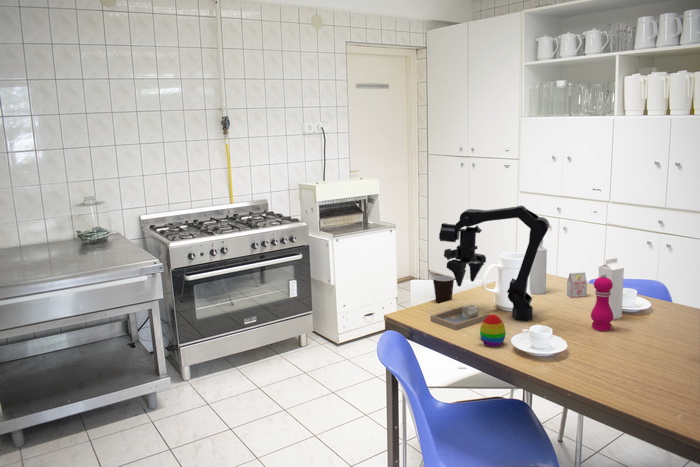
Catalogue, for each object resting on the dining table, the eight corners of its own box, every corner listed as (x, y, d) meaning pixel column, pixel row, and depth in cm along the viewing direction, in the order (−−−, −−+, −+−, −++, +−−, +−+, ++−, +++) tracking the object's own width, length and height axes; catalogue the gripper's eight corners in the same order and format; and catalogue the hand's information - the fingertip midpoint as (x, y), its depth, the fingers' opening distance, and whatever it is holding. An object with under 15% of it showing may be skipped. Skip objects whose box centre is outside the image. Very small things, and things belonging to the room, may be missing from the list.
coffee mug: (448, 305, 233) (447, 282, 231) (429, 302, 238) (429, 279, 237) (461, 298, 242) (460, 275, 240) (442, 295, 247) (442, 273, 246)
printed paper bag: (566, 295, 240) (567, 272, 238) (582, 294, 241) (582, 271, 239) (571, 298, 237) (571, 274, 235) (586, 296, 237) (587, 273, 236)
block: (478, 317, 213) (478, 306, 213) (470, 319, 211) (470, 309, 211) (470, 314, 217) (470, 304, 216) (462, 316, 214) (462, 306, 214)
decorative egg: (510, 342, 191) (510, 314, 190) (496, 350, 186) (496, 320, 184) (488, 337, 197) (488, 309, 195) (475, 344, 192) (475, 315, 190)
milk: (596, 316, 214) (598, 258, 210) (608, 313, 216) (610, 256, 212) (610, 320, 208) (612, 261, 204) (622, 317, 211) (624, 259, 207)
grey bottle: (548, 291, 246) (549, 234, 242) (541, 295, 242) (542, 237, 237) (533, 289, 251) (534, 233, 246) (526, 292, 246) (527, 235, 242)
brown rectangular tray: (489, 323, 211) (489, 314, 210) (456, 334, 201) (455, 324, 201) (463, 314, 221) (463, 306, 221) (430, 324, 212) (430, 315, 211)
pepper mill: (613, 326, 203) (615, 271, 199) (612, 332, 196) (615, 276, 193) (590, 323, 206) (592, 269, 202) (589, 330, 199) (591, 274, 196)
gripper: (462, 236, 225) (460, 275, 229) (435, 244, 212) (433, 284, 215) (487, 240, 218) (485, 280, 221) (461, 248, 205) (459, 290, 208)
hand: (465, 283), depth 216 cm, fingers open, 9 cm apart
